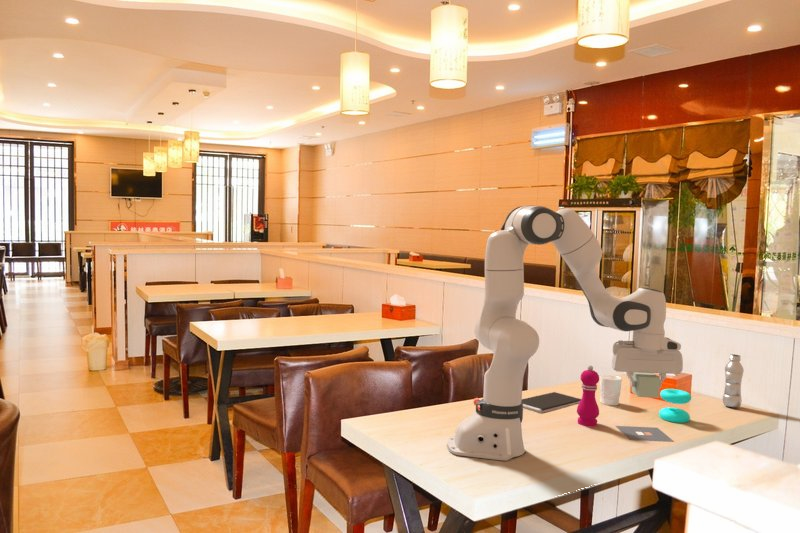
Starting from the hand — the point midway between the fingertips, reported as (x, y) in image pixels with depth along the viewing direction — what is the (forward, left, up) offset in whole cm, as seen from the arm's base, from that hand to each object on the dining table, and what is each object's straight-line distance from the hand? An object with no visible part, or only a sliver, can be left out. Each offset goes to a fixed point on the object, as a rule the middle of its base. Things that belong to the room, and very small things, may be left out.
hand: (645, 386), depth 187 cm
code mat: (+5, +12, -18) cm, 22 cm away
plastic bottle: (+52, +50, -18) cm, 74 cm away
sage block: (0, 0, -2) cm, 2 cm away
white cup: (+5, +48, -19) cm, 52 cm away
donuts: (+22, +30, -19) cm, 42 cm away
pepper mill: (-11, +20, -18) cm, 29 cm away
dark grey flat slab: (-19, +44, -19) cm, 52 cm away
